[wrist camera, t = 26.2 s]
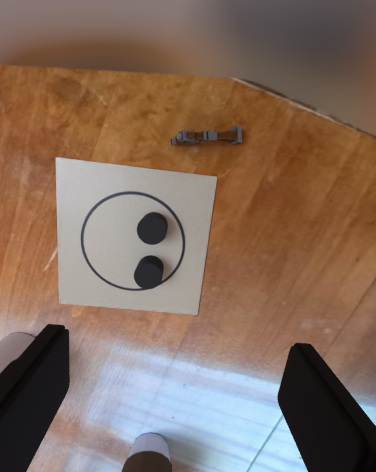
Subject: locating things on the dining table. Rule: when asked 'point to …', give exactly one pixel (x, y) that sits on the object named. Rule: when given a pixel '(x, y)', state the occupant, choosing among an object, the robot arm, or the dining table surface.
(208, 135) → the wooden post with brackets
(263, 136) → the dining table surface
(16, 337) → the mug
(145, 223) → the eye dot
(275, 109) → the dining table surface
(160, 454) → the coffee cup
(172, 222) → the paper sheet
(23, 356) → the robot arm
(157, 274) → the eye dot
